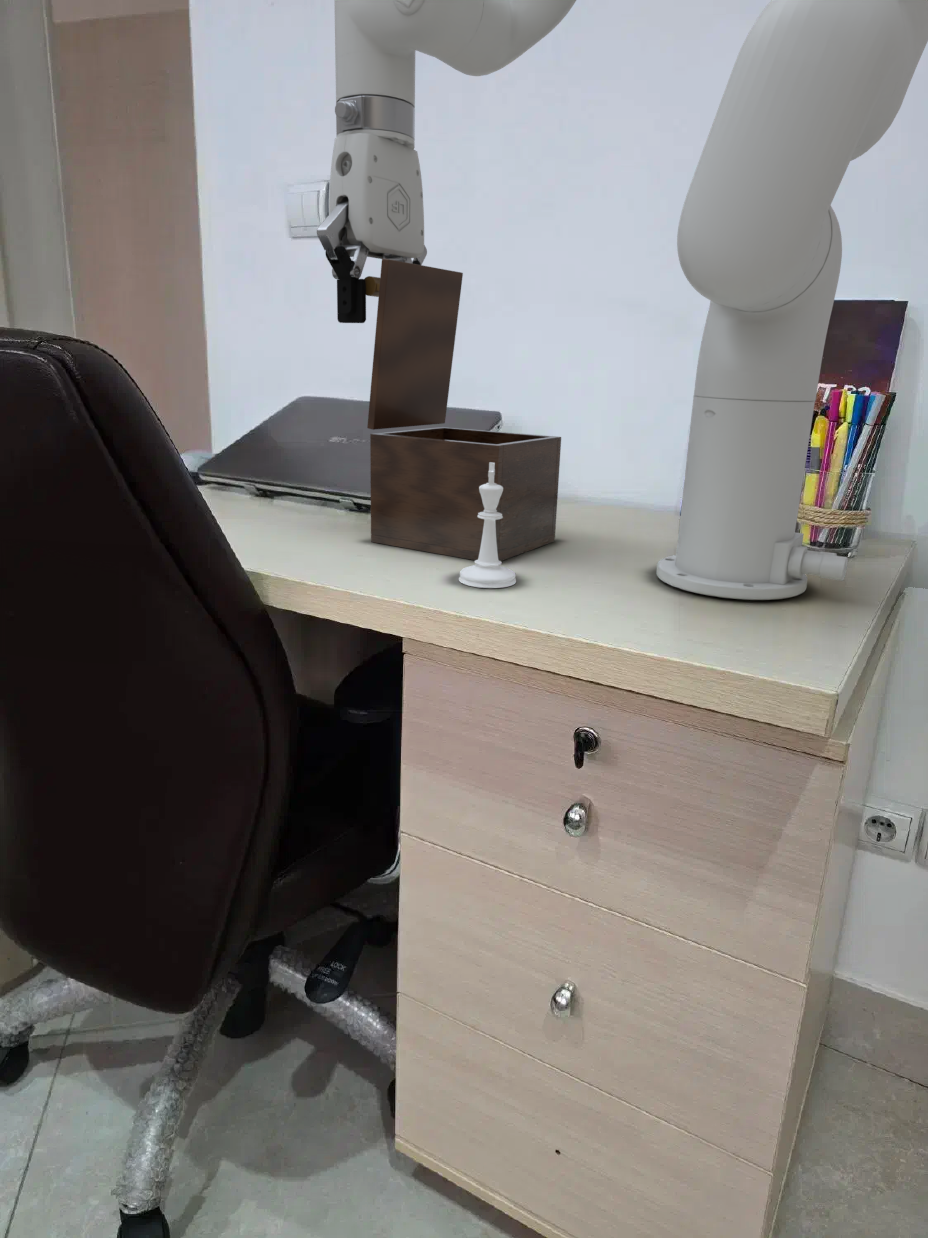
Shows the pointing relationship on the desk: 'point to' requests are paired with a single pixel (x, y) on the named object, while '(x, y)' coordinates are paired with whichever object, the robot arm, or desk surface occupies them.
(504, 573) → the chess piece
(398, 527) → the box
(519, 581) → the desk surface
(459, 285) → the lid
